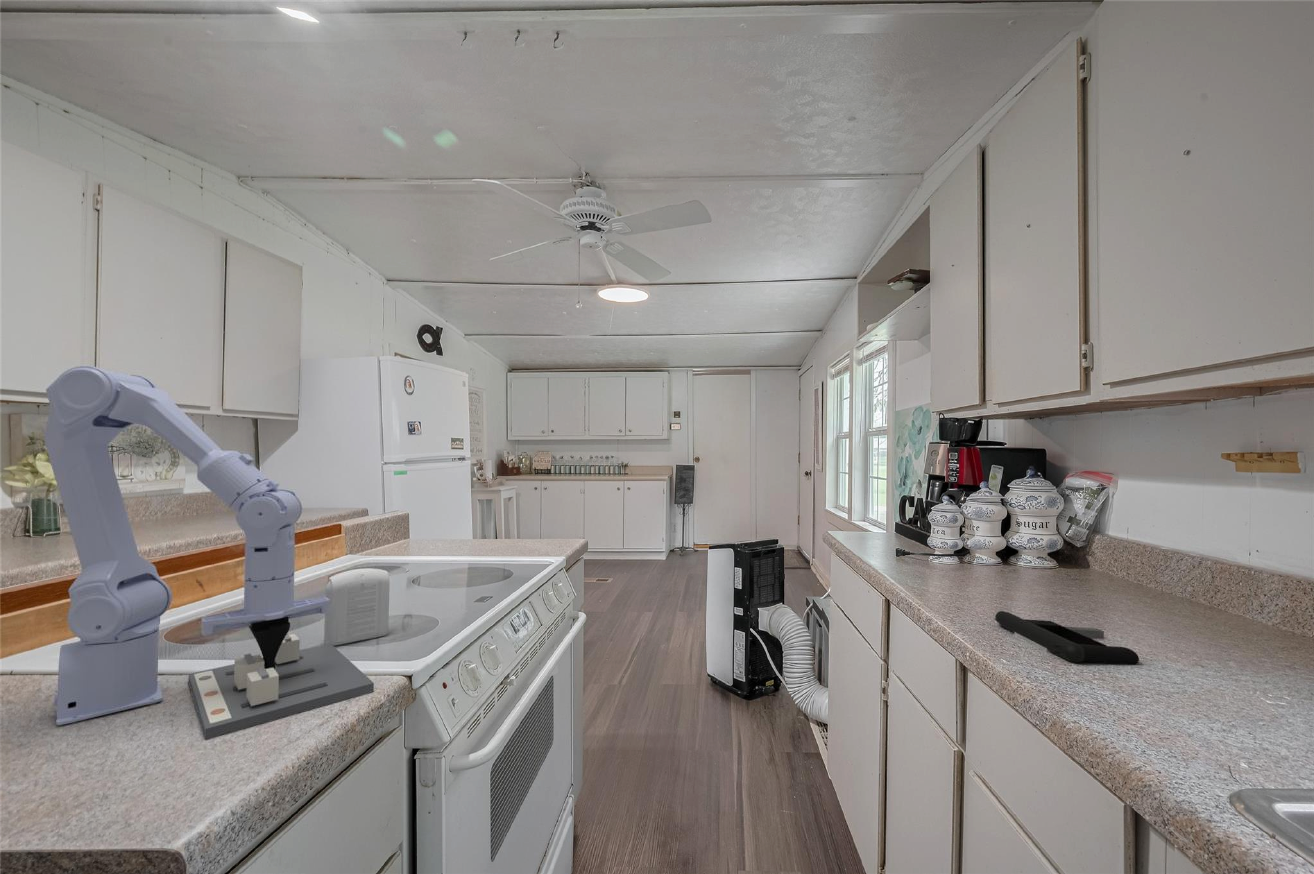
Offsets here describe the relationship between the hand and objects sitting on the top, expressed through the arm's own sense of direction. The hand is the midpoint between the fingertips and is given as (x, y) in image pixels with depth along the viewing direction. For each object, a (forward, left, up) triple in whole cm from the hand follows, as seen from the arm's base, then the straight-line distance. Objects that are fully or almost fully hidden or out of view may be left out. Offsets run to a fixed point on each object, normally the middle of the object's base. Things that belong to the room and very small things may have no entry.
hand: (268, 674), depth 76 cm
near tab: (-2, -7, -1) cm, 7 cm away
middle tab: (-2, 0, 0) cm, 2 cm away
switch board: (+1, 0, -2) cm, 2 cm away
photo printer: (+15, +14, -2) cm, 21 cm away
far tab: (+3, +7, 0) cm, 8 cm away
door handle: (+103, -75, -3) cm, 128 cm away
